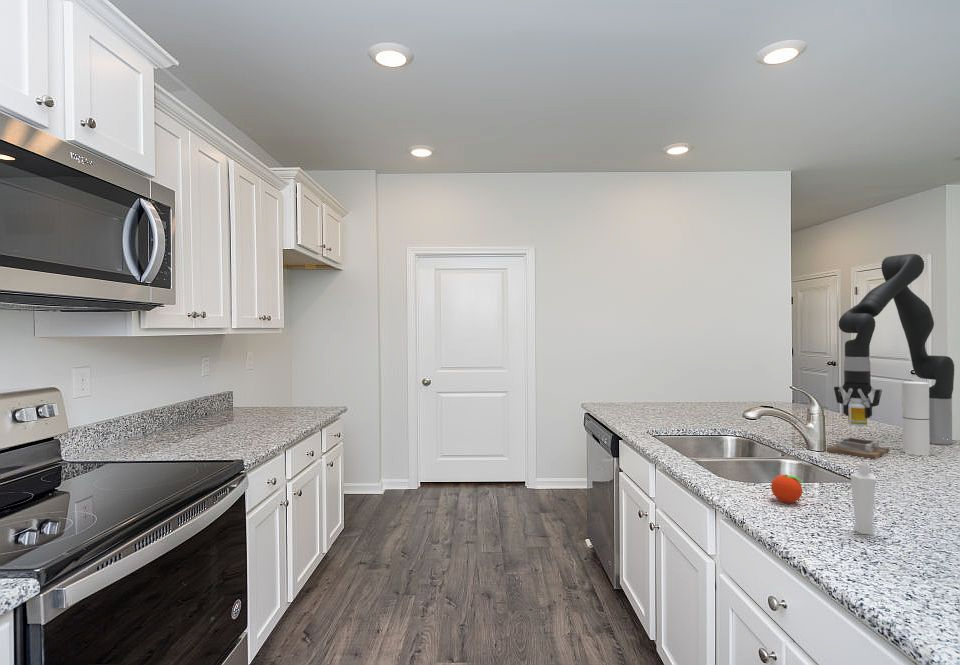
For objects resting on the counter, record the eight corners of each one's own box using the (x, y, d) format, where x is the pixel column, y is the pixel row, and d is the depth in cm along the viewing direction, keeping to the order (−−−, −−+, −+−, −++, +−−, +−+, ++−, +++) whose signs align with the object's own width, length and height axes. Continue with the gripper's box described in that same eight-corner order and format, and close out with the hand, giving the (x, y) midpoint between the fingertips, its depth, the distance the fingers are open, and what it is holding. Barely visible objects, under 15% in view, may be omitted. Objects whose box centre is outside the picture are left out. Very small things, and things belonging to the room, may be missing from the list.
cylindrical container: (898, 452, 178) (897, 382, 177) (909, 450, 181) (908, 381, 180) (922, 457, 171) (922, 384, 171) (933, 454, 174) (933, 382, 174)
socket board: (842, 445, 189) (842, 435, 189) (888, 452, 177) (888, 441, 177) (826, 452, 180) (826, 440, 180) (874, 459, 169) (874, 448, 169)
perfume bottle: (851, 525, 114) (851, 460, 114) (876, 530, 112) (875, 463, 111) (850, 531, 111) (849, 464, 111) (875, 536, 108) (875, 467, 108)
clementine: (807, 501, 130) (807, 474, 130) (807, 509, 125) (806, 480, 125) (772, 495, 135) (772, 469, 135) (770, 503, 129) (769, 476, 129)
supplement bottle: (871, 426, 176) (870, 398, 176) (855, 426, 176) (855, 398, 176) (859, 423, 181) (859, 396, 181) (844, 423, 181) (844, 396, 181)
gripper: (885, 369, 175) (885, 418, 175) (837, 367, 186) (837, 413, 187) (878, 371, 170) (878, 420, 171) (829, 368, 182) (830, 415, 182)
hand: (857, 416), depth 179 cm, fingers closed on supplement bottle, 5 cm apart
